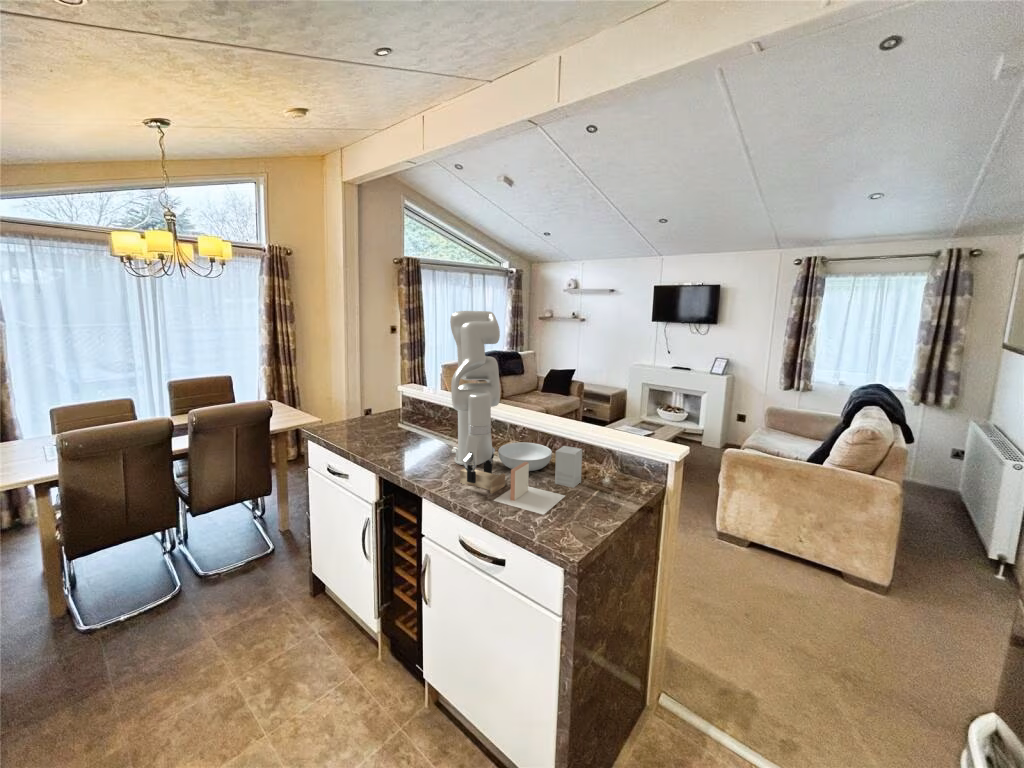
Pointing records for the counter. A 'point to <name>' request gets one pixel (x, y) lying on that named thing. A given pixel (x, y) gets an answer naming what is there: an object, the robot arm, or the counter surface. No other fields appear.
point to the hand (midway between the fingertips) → (479, 477)
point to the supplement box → (568, 466)
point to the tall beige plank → (484, 480)
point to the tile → (519, 480)
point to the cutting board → (532, 500)
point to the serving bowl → (525, 455)
